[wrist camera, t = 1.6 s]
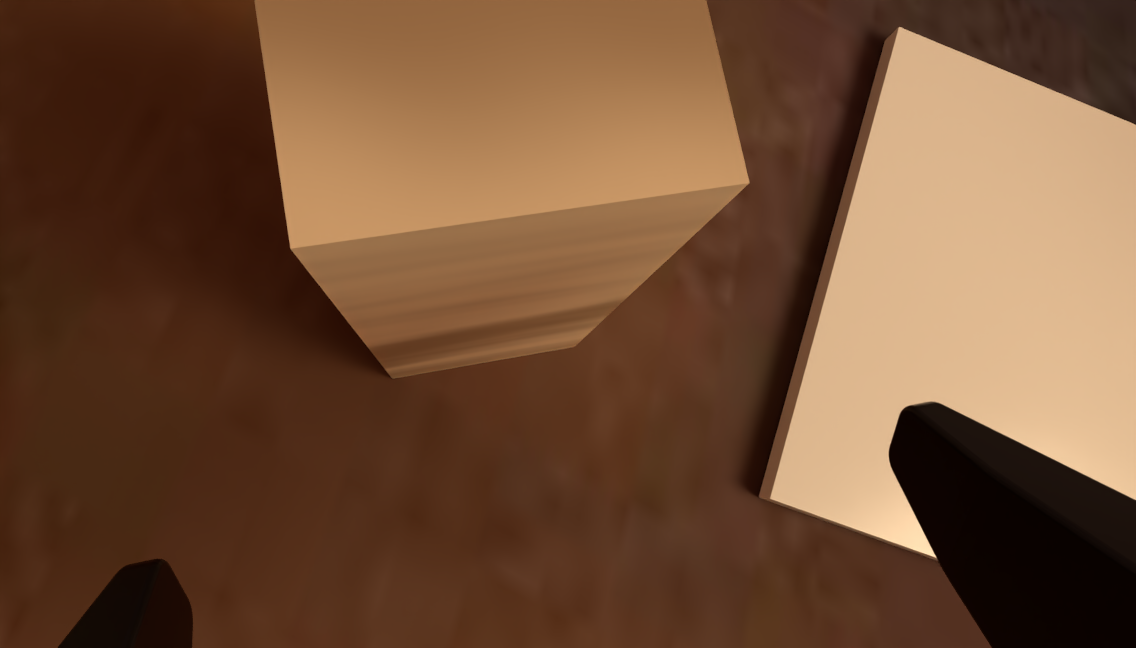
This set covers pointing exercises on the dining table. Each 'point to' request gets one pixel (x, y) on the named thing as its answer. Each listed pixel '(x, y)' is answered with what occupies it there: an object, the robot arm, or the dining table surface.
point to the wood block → (493, 162)
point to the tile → (966, 288)
